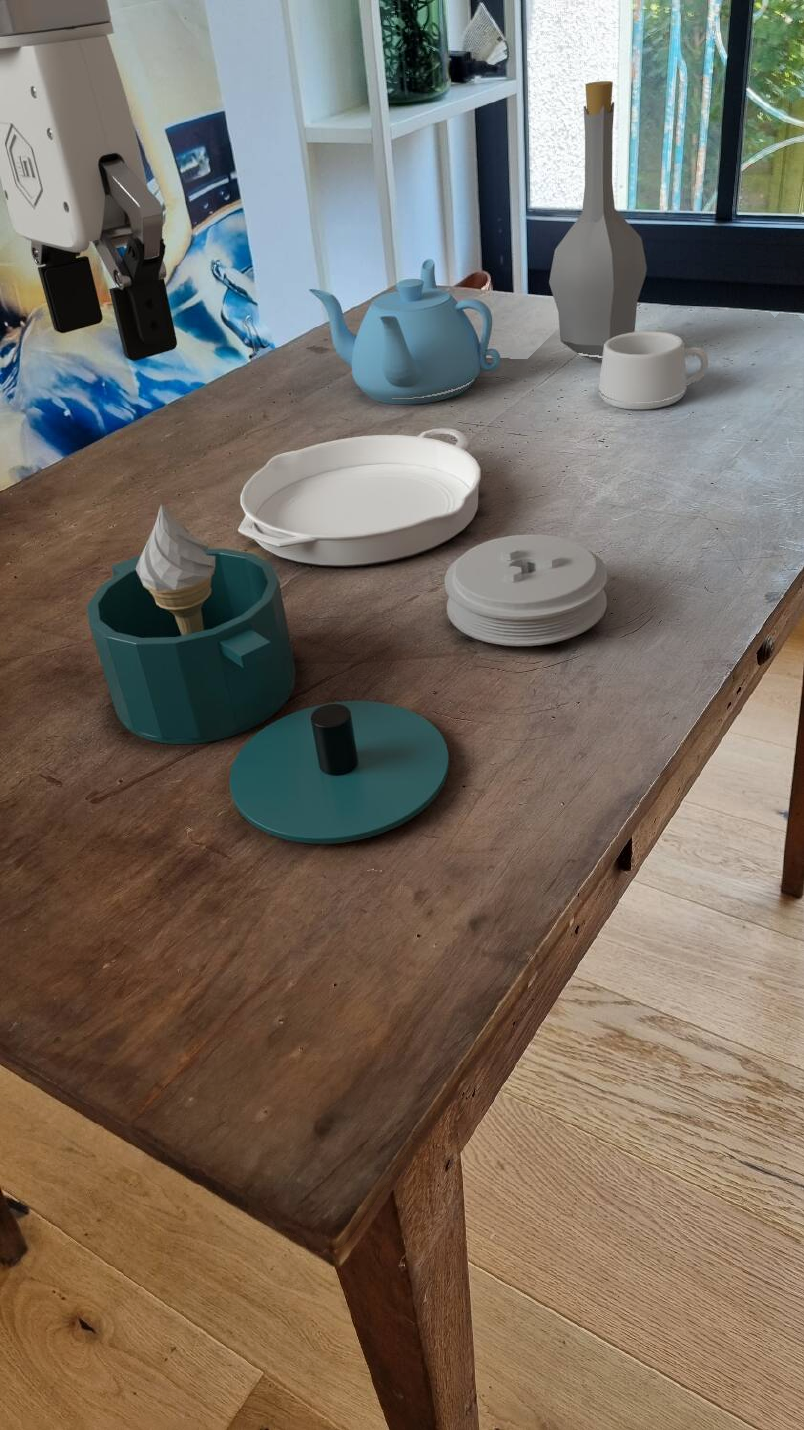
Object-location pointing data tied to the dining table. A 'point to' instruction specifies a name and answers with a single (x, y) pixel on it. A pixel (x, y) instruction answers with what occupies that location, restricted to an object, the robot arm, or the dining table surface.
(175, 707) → the pot
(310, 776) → the pot lid
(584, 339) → the bottle
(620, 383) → the mug
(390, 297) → the teapot
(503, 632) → the lid
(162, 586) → the ice cream cone
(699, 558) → the dining table surface
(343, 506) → the pan
